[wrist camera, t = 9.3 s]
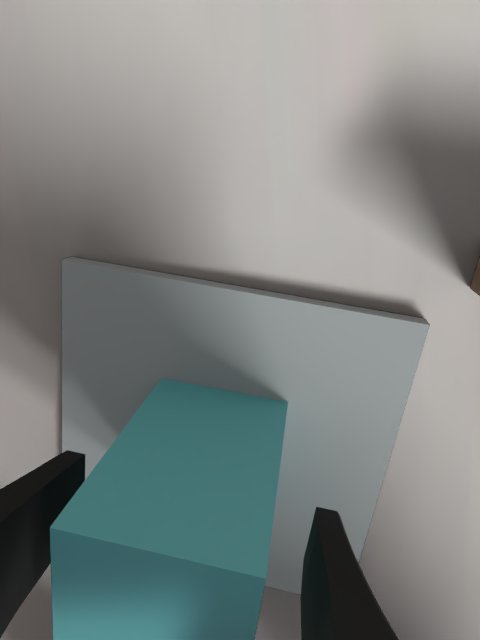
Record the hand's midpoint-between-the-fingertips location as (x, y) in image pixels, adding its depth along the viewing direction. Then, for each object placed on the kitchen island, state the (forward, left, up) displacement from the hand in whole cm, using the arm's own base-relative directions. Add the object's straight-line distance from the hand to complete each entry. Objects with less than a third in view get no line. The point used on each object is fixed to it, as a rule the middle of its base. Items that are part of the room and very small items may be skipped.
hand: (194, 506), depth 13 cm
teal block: (0, 0, -3) cm, 3 cm away
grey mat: (0, 0, -4) cm, 4 cm away
